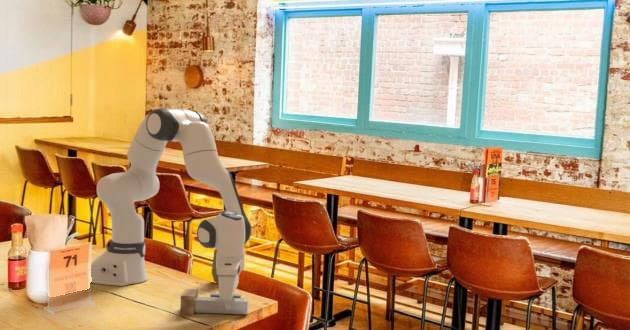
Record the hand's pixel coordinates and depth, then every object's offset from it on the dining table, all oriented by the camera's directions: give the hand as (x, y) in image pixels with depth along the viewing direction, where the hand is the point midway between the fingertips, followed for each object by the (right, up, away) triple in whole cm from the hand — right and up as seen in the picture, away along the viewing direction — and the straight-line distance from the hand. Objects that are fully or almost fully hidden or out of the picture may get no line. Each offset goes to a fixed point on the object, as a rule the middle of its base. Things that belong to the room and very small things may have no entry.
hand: (229, 306), depth 235 cm
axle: (-3, -2, 0) cm, 4 cm away
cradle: (-3, -1, +10) cm, 11 cm away
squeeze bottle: (-6, +2, +35) cm, 36 cm away
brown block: (-13, -2, 0) cm, 13 cm away
